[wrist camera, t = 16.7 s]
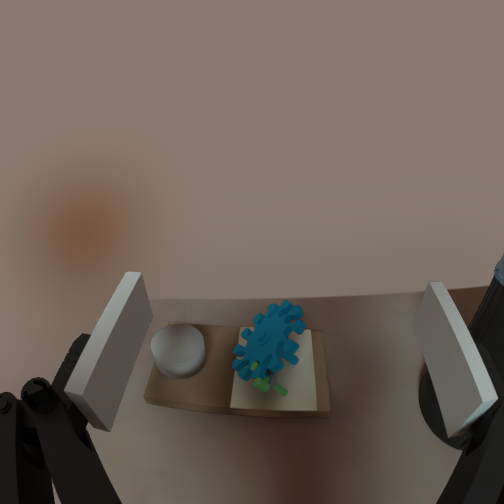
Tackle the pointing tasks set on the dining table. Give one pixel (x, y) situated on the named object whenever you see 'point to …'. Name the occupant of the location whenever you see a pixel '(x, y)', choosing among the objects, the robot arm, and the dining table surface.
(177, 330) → the wooden board
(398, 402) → the dining table surface
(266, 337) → the gear
